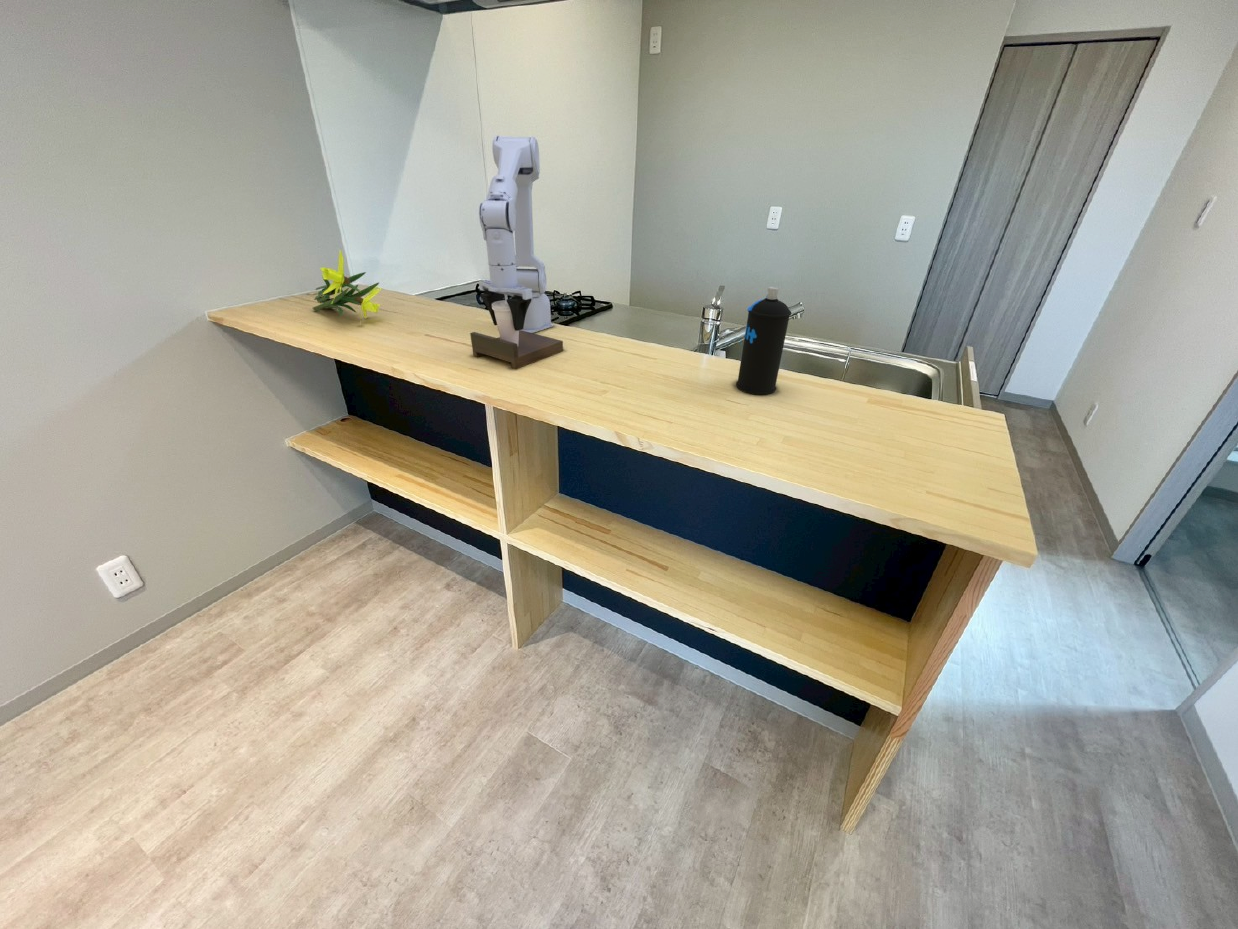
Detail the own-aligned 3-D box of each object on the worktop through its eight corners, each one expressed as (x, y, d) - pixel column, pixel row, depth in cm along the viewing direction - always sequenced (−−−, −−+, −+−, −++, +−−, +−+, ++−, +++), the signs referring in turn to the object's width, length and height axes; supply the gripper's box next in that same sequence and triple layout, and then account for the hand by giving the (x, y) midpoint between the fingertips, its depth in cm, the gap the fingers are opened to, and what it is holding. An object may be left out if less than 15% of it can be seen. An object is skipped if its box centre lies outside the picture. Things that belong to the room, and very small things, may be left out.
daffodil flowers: (362, 305, 156) (407, 292, 132) (330, 338, 151) (372, 331, 127) (314, 260, 146) (354, 237, 121) (278, 294, 141) (313, 277, 116)
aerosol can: (777, 383, 105) (797, 285, 94) (774, 397, 98) (795, 294, 87) (738, 377, 107) (753, 281, 96) (733, 391, 100) (748, 290, 90)
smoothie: (527, 342, 117) (522, 280, 109) (520, 350, 111) (514, 286, 104) (501, 340, 117) (494, 279, 110) (492, 349, 112) (484, 285, 105)
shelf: (522, 339, 126) (520, 318, 124) (563, 350, 120) (562, 328, 117) (473, 356, 115) (470, 332, 112) (515, 369, 109) (513, 345, 106)
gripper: (465, 262, 106) (473, 325, 113) (512, 270, 99) (518, 337, 106) (490, 258, 111) (496, 318, 118) (537, 265, 104) (541, 329, 111)
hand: (508, 327), depth 112 cm, fingers closed on smoothie, 6 cm apart
